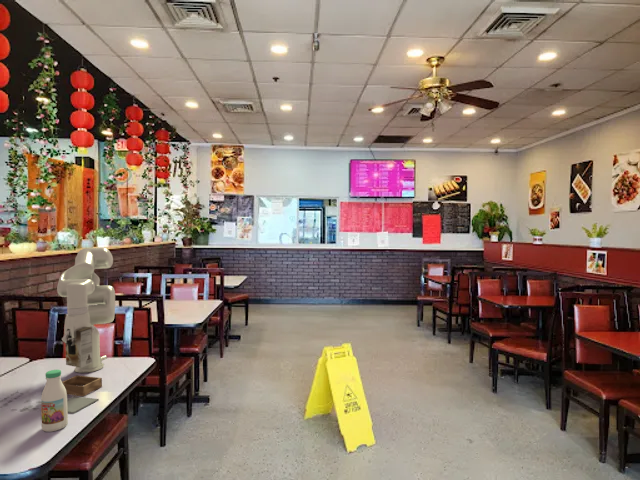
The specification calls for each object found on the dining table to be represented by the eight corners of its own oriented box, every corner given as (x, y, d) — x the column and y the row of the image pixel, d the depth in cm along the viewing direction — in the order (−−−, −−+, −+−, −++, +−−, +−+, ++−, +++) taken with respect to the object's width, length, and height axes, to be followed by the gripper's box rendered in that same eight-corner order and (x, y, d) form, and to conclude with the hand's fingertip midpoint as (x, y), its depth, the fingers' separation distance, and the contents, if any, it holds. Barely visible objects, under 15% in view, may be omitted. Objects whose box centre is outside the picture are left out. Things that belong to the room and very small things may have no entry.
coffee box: (65, 365, 177) (63, 328, 175) (78, 360, 183) (76, 324, 181) (81, 368, 174) (79, 331, 172) (93, 362, 180) (92, 326, 178)
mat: (74, 397, 170) (74, 396, 170) (98, 400, 167) (98, 398, 167) (48, 410, 158) (48, 408, 158) (73, 413, 155) (73, 412, 155)
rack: (77, 384, 184) (76, 375, 184) (102, 386, 181) (101, 377, 181) (57, 393, 174) (56, 384, 174) (83, 396, 171) (82, 386, 171)
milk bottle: (49, 422, 149) (48, 367, 148) (72, 421, 149) (70, 367, 148) (37, 433, 141) (35, 375, 140) (60, 432, 142) (58, 375, 141)
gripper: (86, 305, 186) (87, 344, 187) (53, 315, 169) (54, 357, 170) (100, 306, 184) (101, 345, 185) (67, 316, 167) (69, 359, 168)
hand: (79, 351), depth 178 cm, fingers closed on coffee box, 6 cm apart
